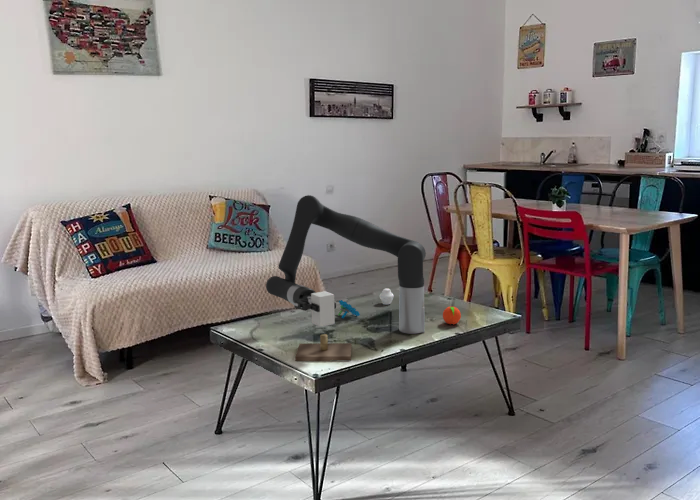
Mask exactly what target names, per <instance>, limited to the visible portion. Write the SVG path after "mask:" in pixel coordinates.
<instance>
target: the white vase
mask: <svg viewBox="0 0 700 500" xmlns="http://www.w3.org/2000/svg"><path fill="white" fill-rule="evenodd" d="M394 296H395V295H394V294H393V292H392V291H391V289H390V288H383V289H382V292H381V293H380V294H379V298H380V301H381V303H382V304H383V305H385V306H386V305H390V304H392V302H393V299H394Z"/></svg>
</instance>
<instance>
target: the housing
mask: <svg viewBox="0 0 700 500" xmlns="http://www.w3.org/2000/svg"><path fill="white" fill-rule="evenodd" d="M311 302H313V303H315V304H317V305H319V306H320V312H316V311H314V310H311V323H312V324H314V325H316V326H318V327H319V328H320V327H321V328H322V327H326V326H330V325H331V326H332V325H335V322H336V321H335V320H336V319H335V309H334V302H335V294H333V293H331V292H328V291H326V290H324V291H318V292H316V293H312V294H311Z"/></svg>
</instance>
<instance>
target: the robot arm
mask: <svg viewBox="0 0 700 500" xmlns="http://www.w3.org/2000/svg"><path fill="white" fill-rule="evenodd" d="M311 225H315V226H319V227H321V228H324V229H327V230H329V231H332V232H333V233H335V234H336V235H338V236H341V237H342V238H344V239H346V240H348V241H350V242H352V243H355V244H357V245H359V246H362V247H364V248H368V249H372V250H378V251H382V252H387V253H389V254H390V255H393V256H395V257H397V278H398V283H399V284H398V306H399V307H398V317H399V318H398V331H399V332H400V333H403V334H420V333H421V334H422V333H425V332H426V331H425V326H426V325H425V322H426V321H425V318H426V317H425V315H426V314H425V313H426V312H425V311H426V308H425V277H424V260H425V258H426V254H427V253H426V249H425V246H423V245H422V244H421V243H420V242H418V241H417V240H416V241H415V240H414V239H409V238H406V237H404V236H403V237H402V236H400V235H397V234H394V233H392V232H390V231H388V230H387V229H384V228H383V227H380V226H379V225H376V224H374V223H372V222H371V221H370V222H369V221H367V220H365V219H363V218H361V217H357V216H355V215H351V214H346V213H341V212H337V211H335V210H333V209H331V208H330V207H327V206H325V205H324V204H322V203H321V202H320V201H319V199H318V198H317V197H316V196H314V195H309V194H307V195H305V196H302V197H301V198H299V200H298V202H297V205H296V209H295V214H294V218H293V223H292V226H291V229H290V234H289V237H288V239H287V242H286V245H285V248H284V250H283V252H282V254H281V258H280V260H279V263H278V266H277V267H278V270H279V271H281V272H282V273H284V278H282V277H280V276H277V275H273V276H271V277H269V278H268V279H267V281H266V282H265V283H266V284H265V289H266V292H267V293H268V294H269V295H272V296H275V297H277V298H280V299H283V300H285V301H286V302H288V303H290V304H292V305H293V307H294V309H298V310H302V311H305V312H307V311H308V310H309V311H312V310H314V311H316V312H320V306H319V305H317V304H315V303H313V302H311V294H312V293H317V292H316V291H315V290H314V289H312V288H310V287H308V286H305V285H303V284H298V283H296V277H297V271H298V268H299V265H300V263H301V261H302V257H303V254H304V250H305V246H306V245H305V244H306V239H307V236H308V233H309V230H310V227H311ZM336 307H337V303H336V302H335V301H334V310H335V309H336Z"/></svg>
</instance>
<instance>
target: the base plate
mask: <svg viewBox="0 0 700 500" xmlns="http://www.w3.org/2000/svg"><path fill="white" fill-rule="evenodd" d="M319 337H320V342H319V343H318V342H317V343H316V342H315V343H314V342H313V343H299V344H298V347H297V350H296V353H295V357H294V358H295V359H294V360H295V362H331V361H330V360H352V345H353V343H352V342H346V343H345V342H343V343H339V342H337V343H336V342H335V343H331V342H330V343H329V342H328V341H329V339H328V334H325V333H324V334H323V333H322V334H320V336H319Z"/></svg>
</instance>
